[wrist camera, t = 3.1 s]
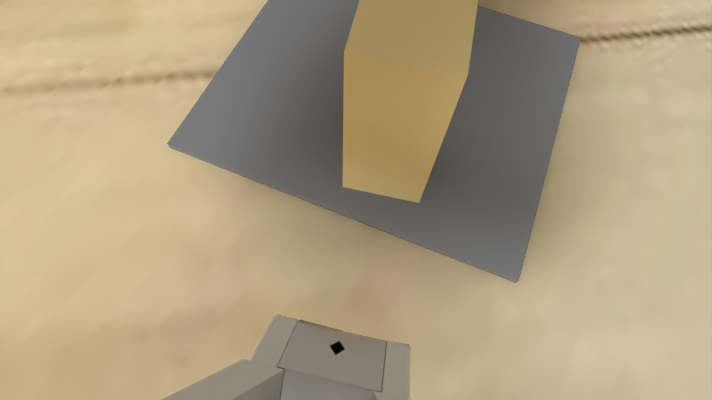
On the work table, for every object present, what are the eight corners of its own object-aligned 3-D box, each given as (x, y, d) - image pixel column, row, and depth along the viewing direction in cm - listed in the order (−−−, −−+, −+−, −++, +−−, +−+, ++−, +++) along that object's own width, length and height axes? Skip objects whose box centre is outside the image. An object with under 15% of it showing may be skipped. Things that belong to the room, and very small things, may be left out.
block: (342, 186, 29) (344, 51, 18) (358, 124, 31) (368, -31, 20) (419, 202, 28) (467, 75, 18) (430, 138, 31) (480, -12, 20)
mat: (170, 147, 30) (167, 143, 30) (302, -43, 39) (302, -49, 38) (515, 282, 27) (518, 280, 26) (577, 42, 35) (580, 37, 35)
